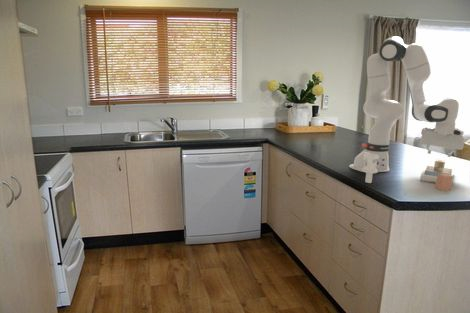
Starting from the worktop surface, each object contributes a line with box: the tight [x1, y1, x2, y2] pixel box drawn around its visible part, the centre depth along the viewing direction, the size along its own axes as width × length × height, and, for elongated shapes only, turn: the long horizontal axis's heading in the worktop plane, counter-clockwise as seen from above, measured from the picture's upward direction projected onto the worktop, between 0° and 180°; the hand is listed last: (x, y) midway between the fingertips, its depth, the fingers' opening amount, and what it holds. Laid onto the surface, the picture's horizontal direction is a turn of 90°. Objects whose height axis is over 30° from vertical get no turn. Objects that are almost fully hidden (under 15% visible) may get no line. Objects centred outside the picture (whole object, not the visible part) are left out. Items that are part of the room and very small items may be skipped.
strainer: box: [362, 152, 379, 184], centre depth 175 cm, size 7×7×15 cm
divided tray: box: [419, 164, 455, 187], centre depth 186 cm, size 25×14×3 cm, turn 147°
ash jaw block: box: [433, 159, 446, 172], centre depth 191 cm, size 4×4×7 cm
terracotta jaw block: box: [434, 173, 454, 191], centre depth 167 cm, size 4×4×7 cm
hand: (438, 155), depth 190 cm, fingers open, 8 cm apart
